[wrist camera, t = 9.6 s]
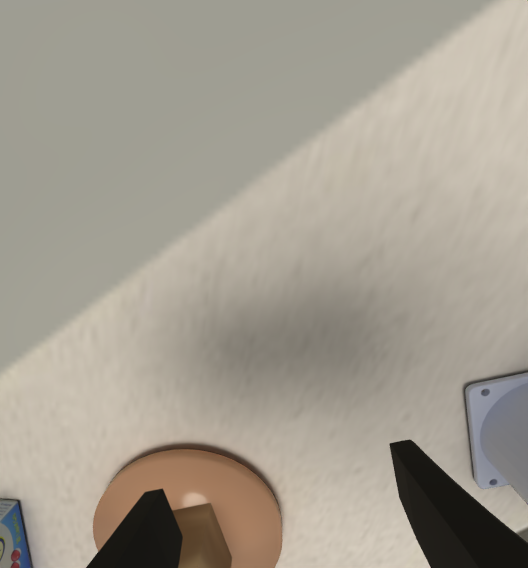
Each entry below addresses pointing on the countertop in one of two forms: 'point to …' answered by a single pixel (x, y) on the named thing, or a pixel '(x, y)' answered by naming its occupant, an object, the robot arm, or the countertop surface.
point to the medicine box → (12, 537)
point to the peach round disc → (200, 500)
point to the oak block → (201, 538)
